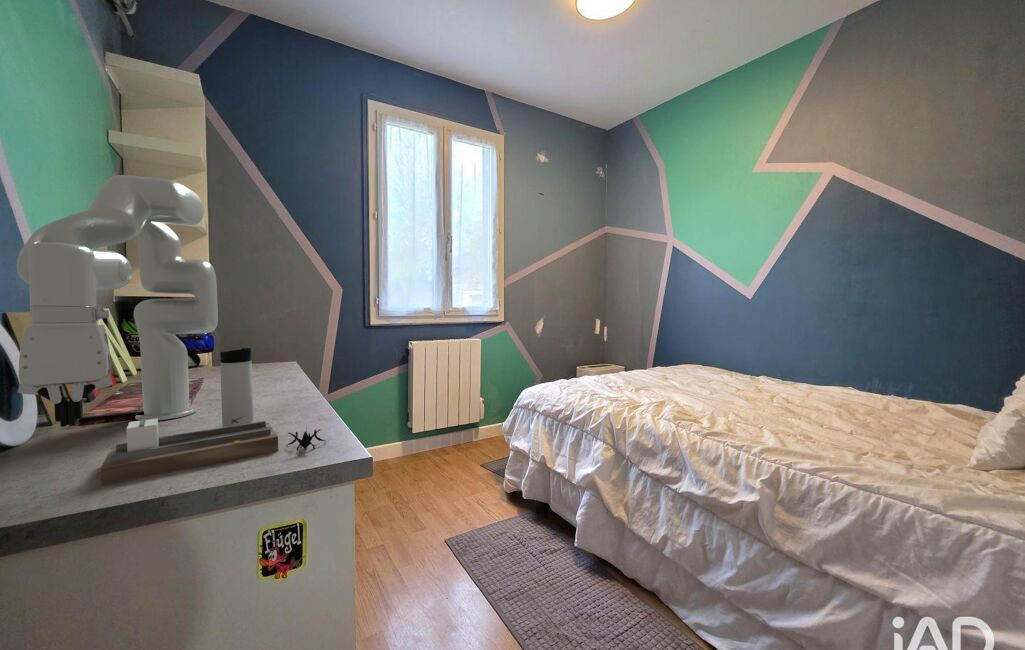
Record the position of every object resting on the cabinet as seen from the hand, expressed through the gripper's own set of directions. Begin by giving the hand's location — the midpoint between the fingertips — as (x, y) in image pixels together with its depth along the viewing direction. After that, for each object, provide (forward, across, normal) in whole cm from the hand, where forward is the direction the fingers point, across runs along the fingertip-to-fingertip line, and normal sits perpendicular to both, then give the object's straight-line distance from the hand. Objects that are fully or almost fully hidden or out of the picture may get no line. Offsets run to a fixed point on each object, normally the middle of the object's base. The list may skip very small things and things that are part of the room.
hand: (69, 424), depth 68 cm
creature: (+10, -35, +6) cm, 37 cm away
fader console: (+10, -17, -1) cm, 20 cm away
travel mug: (+10, -25, -17) cm, 32 cm away
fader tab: (+7, -9, -1) cm, 11 cm away
